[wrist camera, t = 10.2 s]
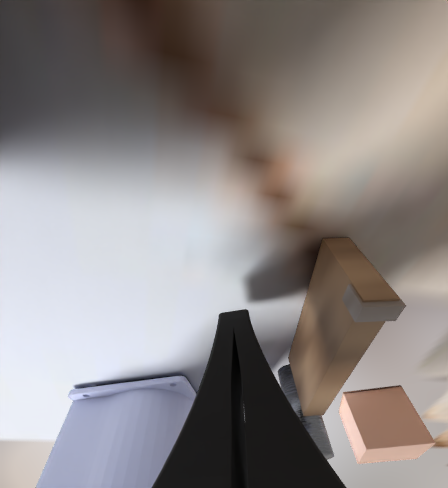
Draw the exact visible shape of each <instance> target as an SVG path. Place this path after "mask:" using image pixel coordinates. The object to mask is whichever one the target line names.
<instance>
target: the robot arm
mask: <svg viewBox="0 0 448 488" xmlns="http://www.w3.org/2000/svg"><path fill="white" fill-rule="evenodd" d="M68 397H69V398H70V399H71V400H73V402H72V405H71V407H70V409H69V412H68V414H67V416H66V419H65V421H64V423H63V425H62V428H61V430H60V432H59V435H58V437H57V439H56V442H55V444H54V447H53V448H52V451H51V453H50V455H49V458H48V460H47V462H46V465H45V467H44V469H43V471H42V474H41V476H40V478H39V481H38V483H37V485H36V487H35V488H346V487H345V485H344V484H343V482H342V481H341V480H340V478H339V477H338V476H337V474H336V473H335V471H334V470H333V468H332V467H331V466H330V464H329V463H328V461H327V460H326V458H325V457H324V455H323V454H322V452H321V451H320V450H319V448H318V447H317V445H316V444H315V442H314V441H313V439H312V438H311V436H310V434H309V433H308V431H307V430H306V428H305V427H304V425H303V424H302V422H301V421H300V419H299V417H298V416H297V414H296V413H295V411H294V409H293V408H292V406H291V404H290V403H289V401H288V399H287V398H286V396H285V394H284V392H283V391H282V389H281V387H280V385H279V384H278V382H277V380H276V378H275V376H274V374H273V372H272V371H271V369H270V367H269V365H268V363H267V361H266V359H265V357H264V354H263V352H262V350H261V348H260V345H259V343H258V341H257V338H256V336H255V333H254V330H253V328H252V325H251V321H250V317H249V312H248V310H246V309H245V310H238V311H231V312H225V313H220V314H219V319H218V325H217V330H216V335H215V339H214V343H213V347H212V350H211V354H210V357H209V361H208V364H207V367H206V370H205V373H204V376H203V379H202V382H201V384H200V387H199V390H198V392H197V394H196V392H195V391H194V389H193V388H192V386H191V385H190V383H189V382H188V380H187V379H186V377H184V376H173V377H165V378H157V379H149V380H142V381H134V382H126V383H118V384H111V385H103V386H95V387H87V388H80V389H73V390H71V391H70V392H69V394H68ZM244 414H245V419H244Z"/></svg>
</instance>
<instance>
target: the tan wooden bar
mask: <svg viewBox="0 0 448 488" xmlns="http://www.w3.org/2000/svg"><path fill="white" fill-rule="evenodd" d="M405 307H406V305H405V304H404V302H403V301H402V300H401V299H400V298H399V296H398V295H397V294H396V293H395V292H394V290H393V289H392V288H391V287H390V286H389V285H388V283H387V282H386V281H385V280H384V279H383V277H382V276H381V275H380V274H379V273H378V271H377V270H376V269H375V268H374V267H373V265H372V264H371V263H370V262H369V261H368V259H367V258H366V257H365V256H364V255H363V254H362V252H361V251H360V250H359V249H358V248H357V246H356V245H355V244H354V243H353V242H352V240H351V239H350V238H325V239H322V243H321V246H320V250H319V253H318V257H317V260H316V264H315V267H314V271H313V274H312V277H311V281H310V284H309V288H308V291H307V295H306V298H305V302H304V305H303V309H302V312H301V315H300V319H299V322H298V326H297V329H296V333H295V336H294V340H293V343H292V347H291V350H290V354H289V357H288V359H289V363H290V366H291V370H292V374H293V378H294V382H295V385H296V389H297V393H298V397H299V401H300V405H301V408H302V412H303V416H315V415H324V413H325V412H326V410H327V409H328V407H329V406H330V404H331V403H332V401H333V400H334V398H335V397H336V395H337V394H338V392H339V391H340V389H341V388H342V386H343V385H344V383H345V382H346V380H347V379H348V377H349V376H350V374H351V373H352V371H353V370H354V368H355V367H356V365H357V363H358V362H359V361H360V359H361V357H362V356H363V354H364V353H365V352H366V350H367V348H368V347H369V345H370V344H371V342H372V341H373V339H374V338H375V336H376V335H377V333H378V332H379V330H380V329H381V327H382V326H383V324H384V323H385V321H395V320H396V319H397V318H398V317H399V315H400V313H401V312H402V311H403V309H404V308H405Z"/></svg>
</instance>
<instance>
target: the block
mask: <svg viewBox="0 0 448 488" xmlns="http://www.w3.org/2000/svg"><path fill="white" fill-rule="evenodd" d="M339 414H340V417H341V419H342V422H343V425H344V427H345V430H346V433H347V436H348V438H349V441H350V444H351V447H352V449H353V452H354V455H355V457H356V460H357V463H358V464H362V463H373V462H385V461H396V460H406V459H417V458H418V457H419V456H420V455H422V454H423V453H424V452H425V451H427V450H428V449H429V448H430V447H431V446H433V445H434V444H435V441H434V440H433V438H432V436H431V435H430V433H429V431H428V430H427V428H426V426H425V425H424V423H423V421H422V420H421V418H420V416H419V415H418V413H417V411H416V410H415V408H414V406H413V405H412V403H411V401H410V400H409V398H408V397H407V395H406V393H405V392H404V390H403V388H402V386H401V385H398V386H389V387H380V388H372V389H364V390H356V391H347V392H343V394H342V399H341V403H340V408H339Z"/></svg>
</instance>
